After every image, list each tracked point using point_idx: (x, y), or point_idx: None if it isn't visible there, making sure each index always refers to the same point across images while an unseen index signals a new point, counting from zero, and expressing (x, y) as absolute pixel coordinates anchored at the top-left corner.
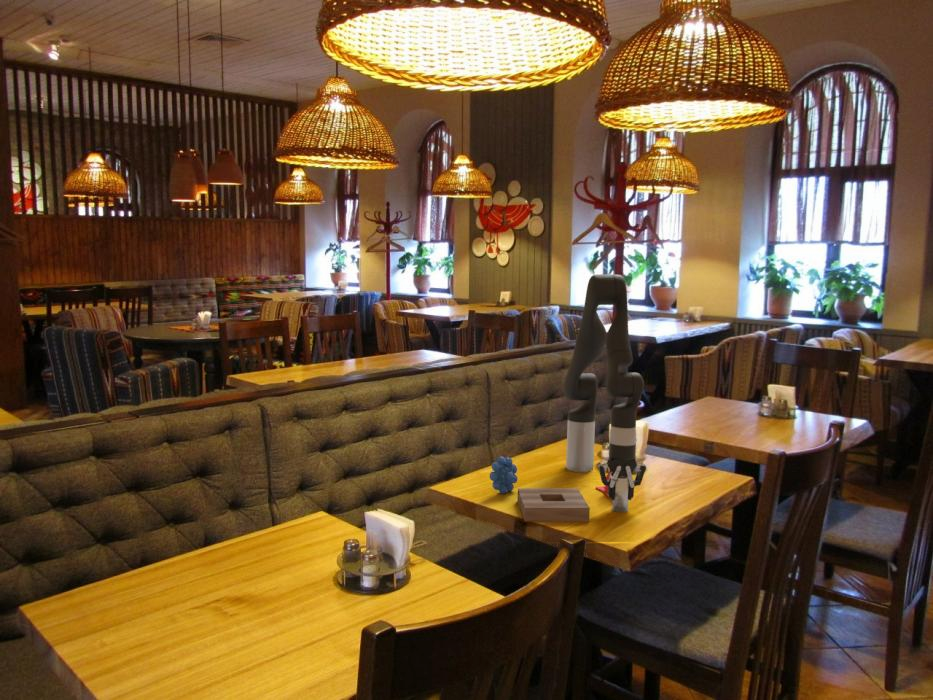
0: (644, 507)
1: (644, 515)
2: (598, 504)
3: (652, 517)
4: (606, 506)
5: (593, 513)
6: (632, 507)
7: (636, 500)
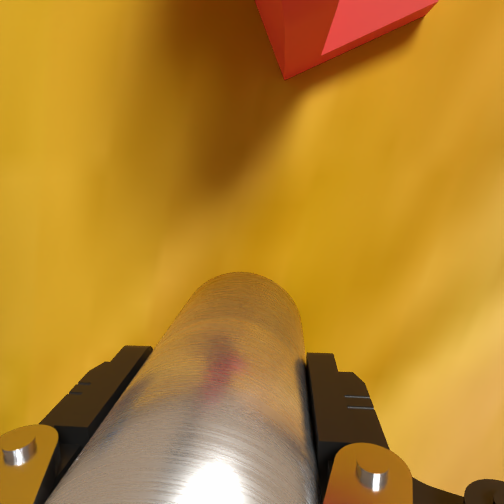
0: (468, 266)
1: (393, 443)
2: (94, 184)
3: (436, 483)
4: (152, 236)
5: (39, 387)
6: (362, 264)
7: (474, 54)
